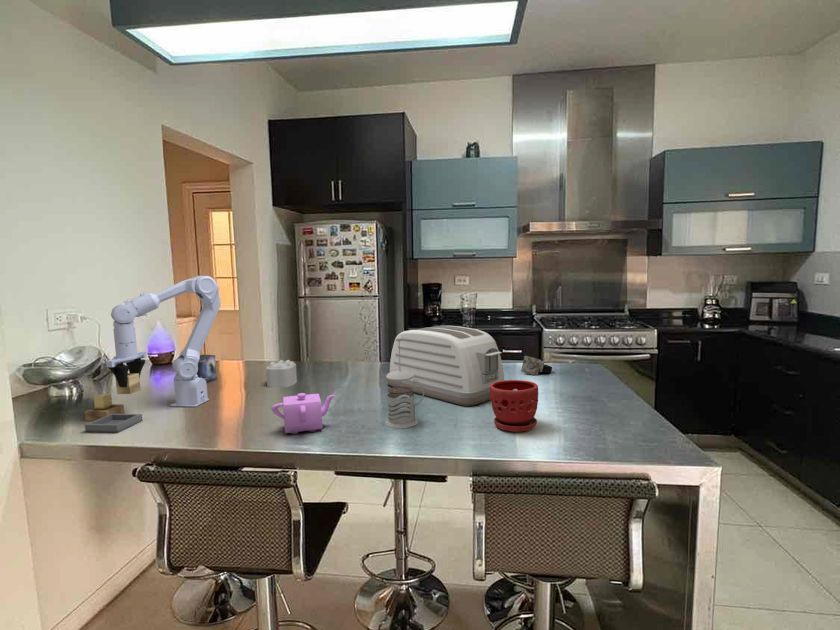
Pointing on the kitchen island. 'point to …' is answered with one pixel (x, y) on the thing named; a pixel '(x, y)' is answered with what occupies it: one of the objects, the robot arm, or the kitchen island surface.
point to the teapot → (302, 412)
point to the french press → (401, 399)
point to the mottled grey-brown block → (534, 366)
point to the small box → (207, 368)
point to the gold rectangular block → (103, 402)
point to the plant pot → (514, 404)
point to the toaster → (448, 363)
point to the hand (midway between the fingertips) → (129, 384)
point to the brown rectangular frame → (103, 412)
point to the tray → (113, 423)
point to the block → (130, 384)
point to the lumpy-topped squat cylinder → (281, 374)
